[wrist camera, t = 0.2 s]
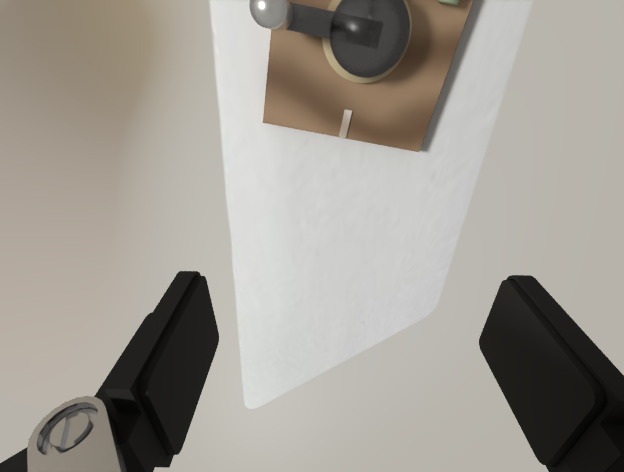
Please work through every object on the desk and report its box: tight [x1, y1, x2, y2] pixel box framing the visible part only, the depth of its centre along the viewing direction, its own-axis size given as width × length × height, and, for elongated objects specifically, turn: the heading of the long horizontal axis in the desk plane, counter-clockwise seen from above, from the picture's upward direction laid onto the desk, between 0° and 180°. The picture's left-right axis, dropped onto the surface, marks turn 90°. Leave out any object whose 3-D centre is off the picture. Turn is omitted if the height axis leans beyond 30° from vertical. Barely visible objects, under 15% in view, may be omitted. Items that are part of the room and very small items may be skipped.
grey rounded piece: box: [250, 0, 410, 78], centre depth 26 cm, size 7×13×9 cm, turn 80°
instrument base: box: [263, 0, 473, 152], centre depth 30 cm, size 20×18×3 cm
